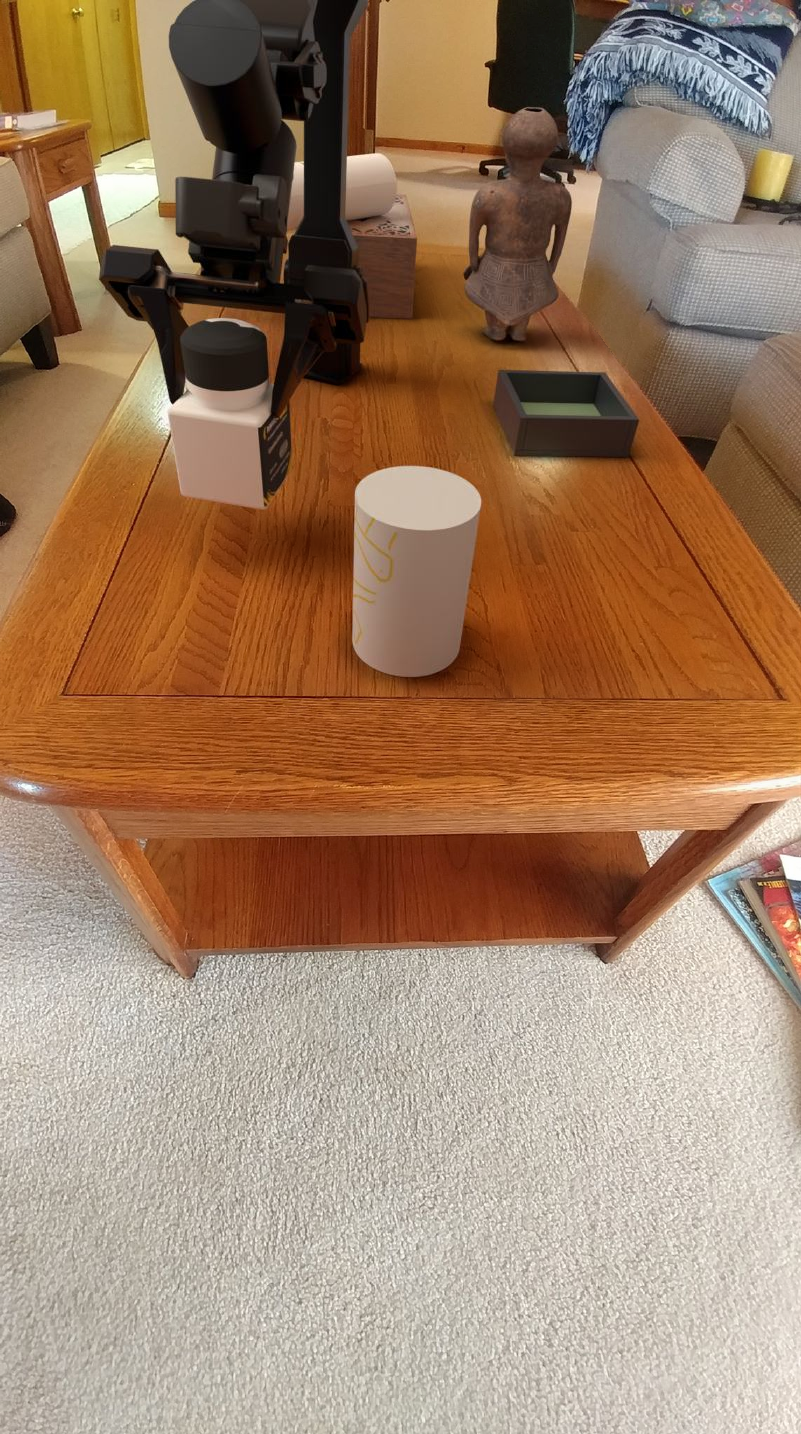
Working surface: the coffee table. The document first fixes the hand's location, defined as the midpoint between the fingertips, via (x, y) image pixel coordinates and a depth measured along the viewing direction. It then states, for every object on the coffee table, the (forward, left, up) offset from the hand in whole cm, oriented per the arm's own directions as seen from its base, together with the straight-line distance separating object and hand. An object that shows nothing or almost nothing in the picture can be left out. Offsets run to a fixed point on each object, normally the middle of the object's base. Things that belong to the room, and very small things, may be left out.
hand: (224, 410), depth 56 cm
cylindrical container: (-29, +47, +2) cm, 55 cm away
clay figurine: (+4, +62, -12) cm, 64 cm away
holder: (+18, +37, -12) cm, 43 cm away
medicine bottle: (0, +1, -7) cm, 7 cm away
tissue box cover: (-22, +70, -12) cm, 75 cm away
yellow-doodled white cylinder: (+18, -5, -12) cm, 22 cm away
